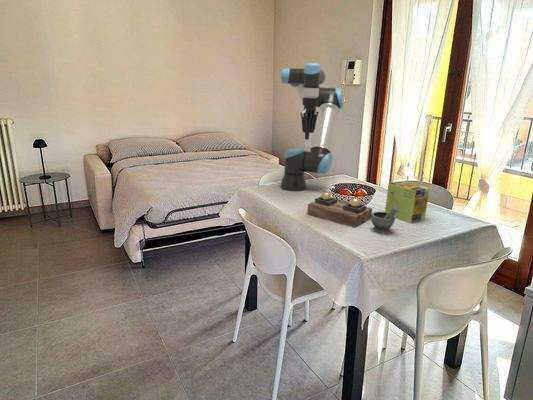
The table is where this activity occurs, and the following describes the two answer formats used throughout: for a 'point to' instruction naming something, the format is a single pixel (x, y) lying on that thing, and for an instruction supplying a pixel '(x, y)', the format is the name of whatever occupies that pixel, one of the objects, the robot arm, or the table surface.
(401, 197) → the protein box
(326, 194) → the knob
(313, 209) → the mount
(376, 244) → the table surface
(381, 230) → the mortar and pestle
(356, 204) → the knob
